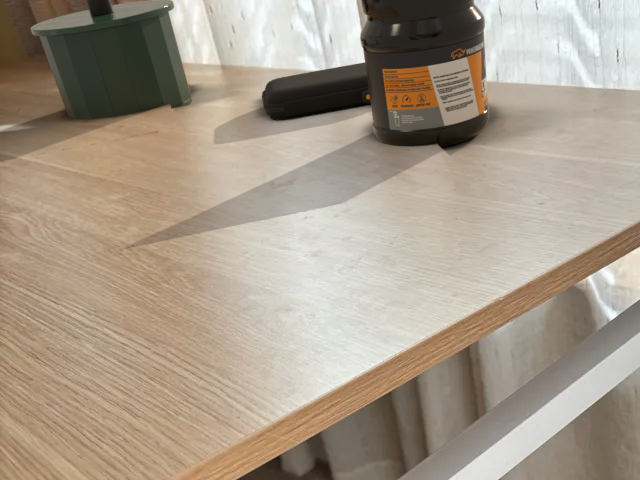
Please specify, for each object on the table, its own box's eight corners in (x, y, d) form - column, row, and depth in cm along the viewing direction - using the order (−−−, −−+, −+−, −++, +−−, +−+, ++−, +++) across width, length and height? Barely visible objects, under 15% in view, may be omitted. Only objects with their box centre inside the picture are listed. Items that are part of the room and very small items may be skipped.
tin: (67, 137, 93) (32, 41, 87) (76, 110, 104) (46, 24, 98) (194, 112, 94) (168, 16, 88) (189, 88, 105) (166, 2, 99)
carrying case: (268, 132, 82) (410, 106, 83) (261, 98, 80) (406, 72, 81) (264, 109, 91) (394, 85, 91) (257, 78, 89) (390, 54, 89)
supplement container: (475, 150, 68) (464, -21, 61) (359, 156, 72) (334, -6, 64) (501, 115, 76) (494, -41, 68) (394, 121, 79) (376, -27, 71)
